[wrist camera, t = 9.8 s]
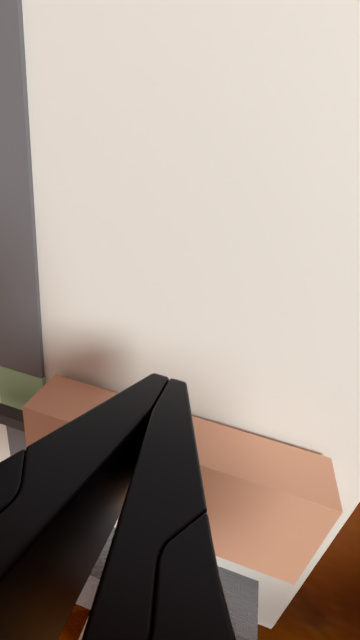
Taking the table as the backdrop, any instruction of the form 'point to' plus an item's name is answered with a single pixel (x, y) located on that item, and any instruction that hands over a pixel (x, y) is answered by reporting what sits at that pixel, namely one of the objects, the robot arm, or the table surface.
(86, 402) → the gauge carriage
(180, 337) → the base
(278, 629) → the table surface
